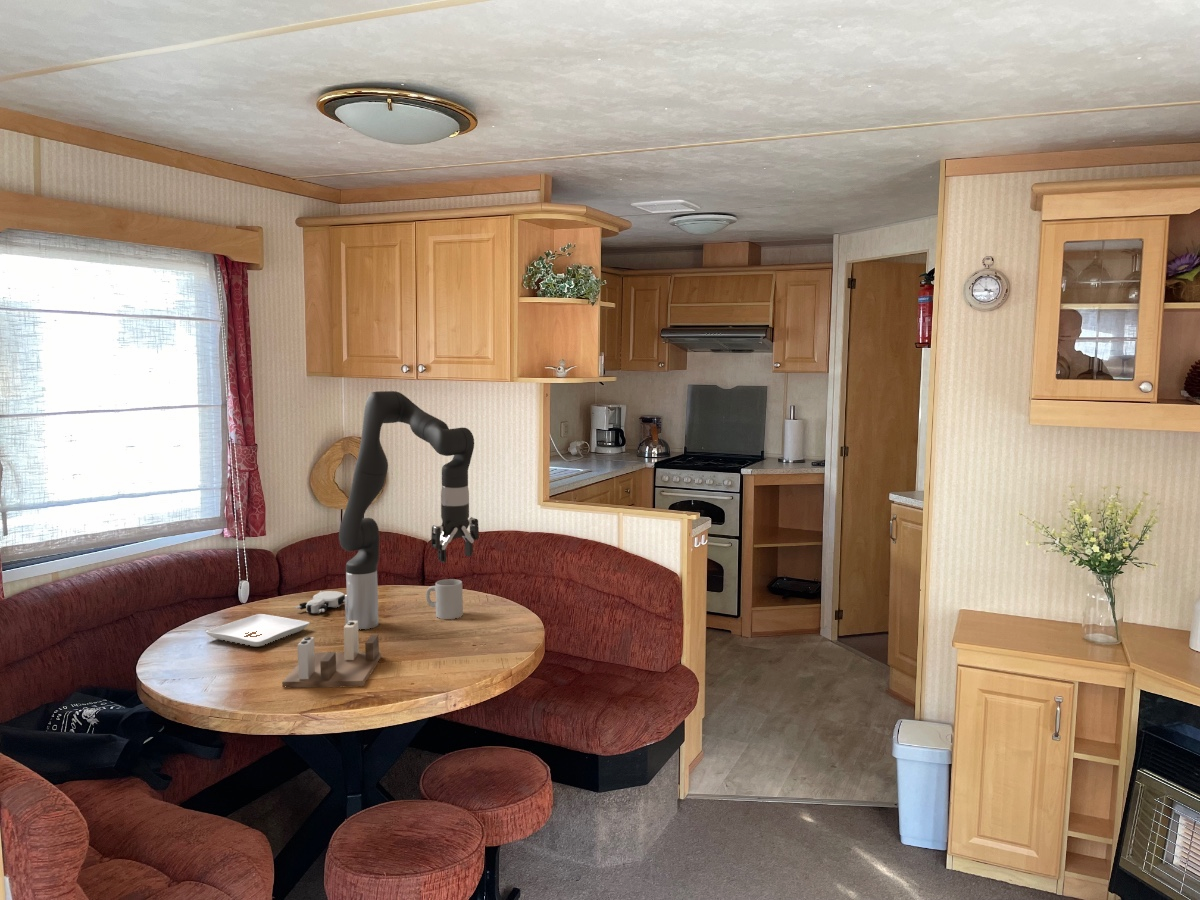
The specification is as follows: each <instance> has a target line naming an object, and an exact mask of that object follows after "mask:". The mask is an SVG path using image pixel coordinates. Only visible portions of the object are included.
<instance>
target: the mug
mask: <svg viewBox="0 0 1200 900" xmlns="http://www.w3.org/2000/svg"><path fill="white" fill-rule="evenodd" d="M431 592H435V601H432V600H431ZM425 593H426V594H425V595H426V603H427V605H429V607H431V608H435V617H436V618H437V617H438V618H437V619H439V618H440V619H439V620H443V619H451V620H456V619H455V618H457V619H460V618H462V617H463V616H464V605H463V604H464V603H463V602H464V601H463V597H464V596H463V581H462V580H460V579H455V578H449V579H448V578H445V579H440V580H437V581H435V585H431V586H428V588H427V589H426V592H425ZM462 615H463V616H462ZM461 616H462V617H461ZM459 617H460V618H459Z"/></svg>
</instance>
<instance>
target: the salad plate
mask: <svg viewBox="0 0 1200 900" xmlns="http://www.w3.org/2000/svg"><path fill="white" fill-rule="evenodd" d="M309 624H310V621H306V620H300V619H295V618H289V617H282V616H278V615H272V614H263V613H257V614H254V615H250V616H247V617H244V618H241V619H238V620H234V621H232V622H229V623H225V624H223V625H219V626H217V627H214V628H211V629H207V630H205V633H206V635H207V636H209V637H211V638H214V639H217V640H220V641H223V640H225V641H224V642H227V641H230V642H229V643H232V642H235V643H234V644H237V643H240V644H239V645H242V644H245V645H244V646H248V645H250V646H249V647H256V648H257V647H263V646H266V645H268V643H269V644H271V643H274V642H276V641H275V640H277V641H279V640H281V639H280V638H282V639H284V638H287V637H289V636H291V634H292V635H294V634H297V633H299V632H301V631H303V630H304V629H306V628H307V627H308V626H309ZM256 631H257V632H256ZM248 632H249V633H248ZM252 632H256V634H252V635H251V636H256V635H260V634H262V635H260V636H257V637H250V636H248V637H244V636H246V635H248V634H250V633H252ZM245 633H248V634H245ZM288 635H289V636H288ZM286 636H287V637H286ZM283 637H284V638H283ZM278 639H279V640H278ZM273 641H274V642H273ZM270 642H271V643H270ZM265 644H266V645H265Z"/></svg>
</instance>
